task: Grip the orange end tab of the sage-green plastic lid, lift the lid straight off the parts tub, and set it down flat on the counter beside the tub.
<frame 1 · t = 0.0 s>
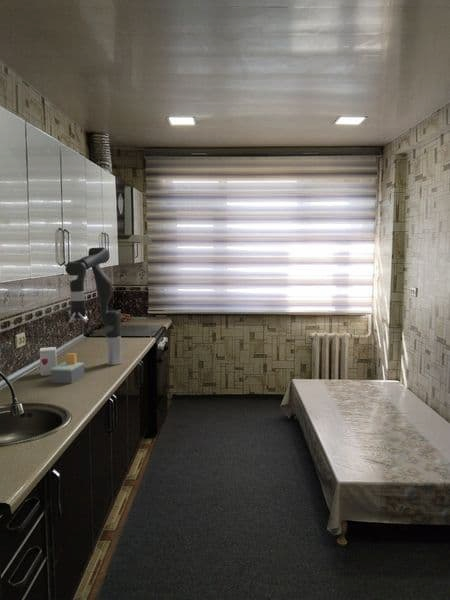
hand: (79, 329, 278), 29 cm above the counter, tool pointing down, fingers open, 8 cm apart
tub: (68, 379, 289), on the counter
lid: (67, 367, 288), point 7 cm above the counter, touching tub
supplement box: (49, 374, 303), on the counter
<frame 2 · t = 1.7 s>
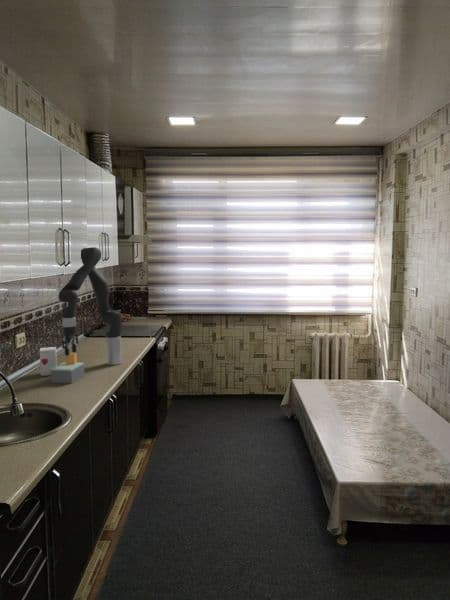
hand: (70, 353, 292), 14 cm above the counter, tool pointing down, fingers open, 8 cm apart
nothing on the counter moved.
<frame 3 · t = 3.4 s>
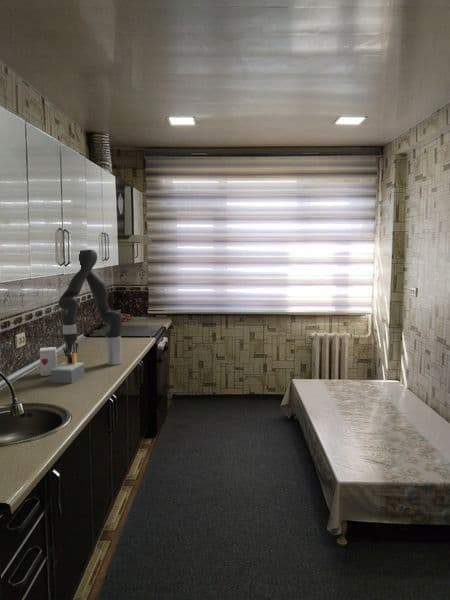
hand: (71, 362, 293), 9 cm above the counter, tool pointing down, fingers closed on lid, 3 cm apart
lid: (67, 367, 288), point 7 cm above the counter, touching gripper, tub
everything else where it was.
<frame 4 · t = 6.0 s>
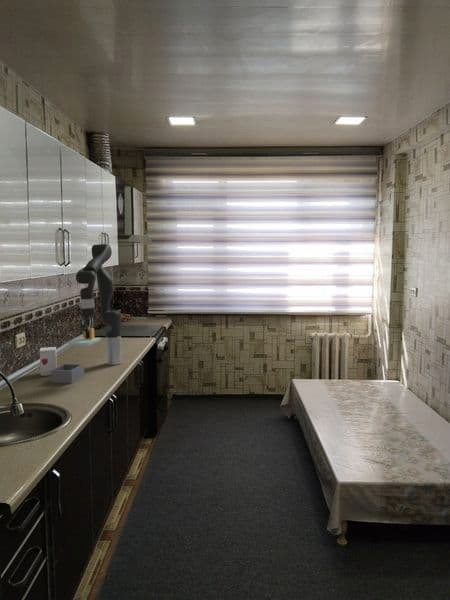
hand: (89, 337, 289), 23 cm above the counter, tool pointing down, fingers closed on lid, 3 cm apart
lid: (85, 341, 284), point 21 cm above the counter, touching gripper
everything else where it was.
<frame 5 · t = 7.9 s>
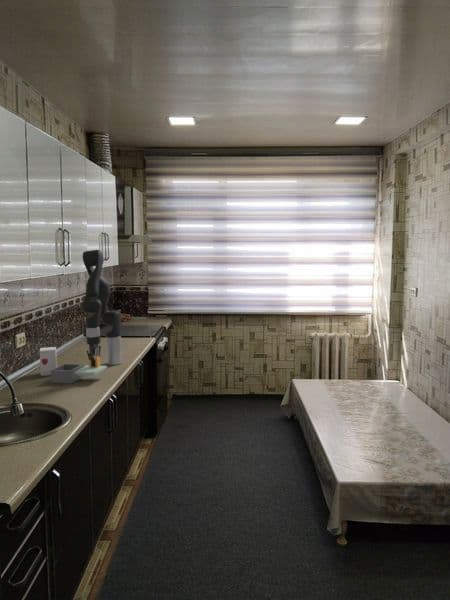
hand: (94, 365, 290), 7 cm above the counter, tool pointing down, fingers closed on lid, 3 cm apart
lid: (91, 370, 286), point 5 cm above the counter, touching gripper
everything else where it was.
when the fingers open (4 cm above the counter, at t = 9.1 s): lid drops 2 cm, point 1 cm above the counter.
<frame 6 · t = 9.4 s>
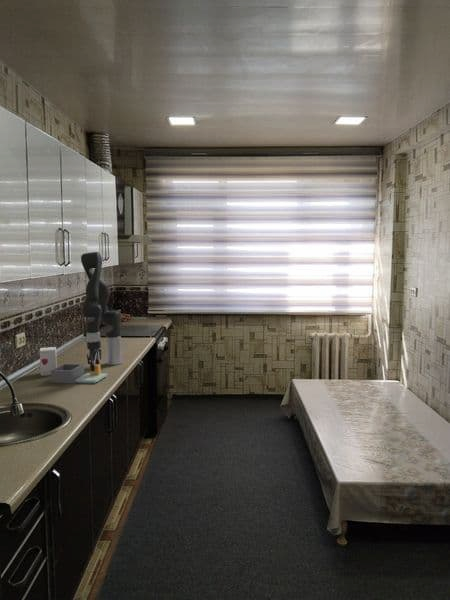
hand: (95, 369, 291), 5 cm above the counter, tool pointing down, fingers open, 6 cm apart
lid: (91, 378, 287), point 1 cm above the counter
everything else where it was.
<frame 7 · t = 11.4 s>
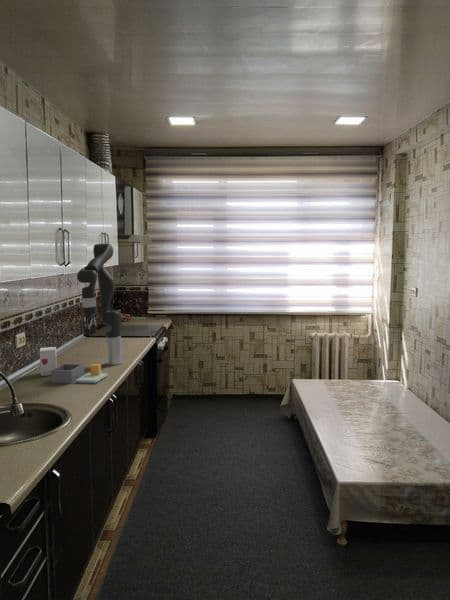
hand: (91, 334, 291), 24 cm above the counter, tool pointing down, fingers open, 8 cm apart
nothing on the counter moved.
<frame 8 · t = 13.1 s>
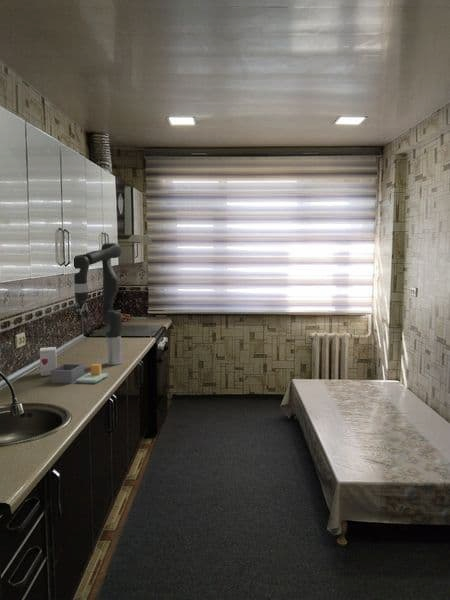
hand: (82, 319, 296), 32 cm above the counter, tool pointing down, fingers open, 8 cm apart
nothing on the counter moved.
at the end: lid inside the target area (0.8 cm from its centre), point 0.9 cm above the counter; lid tilted 0°; the gripper is holding nothing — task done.
